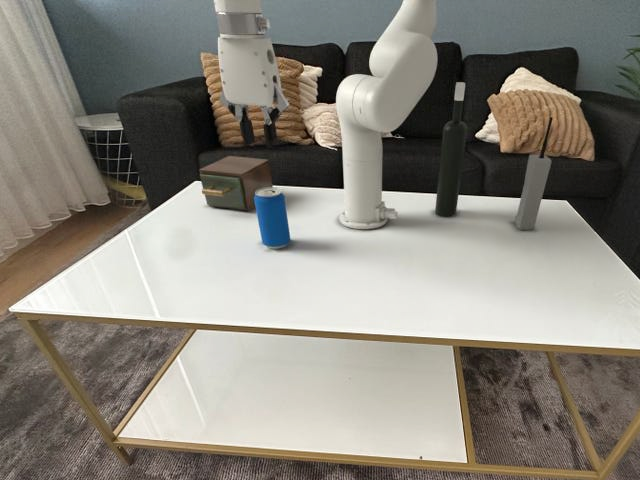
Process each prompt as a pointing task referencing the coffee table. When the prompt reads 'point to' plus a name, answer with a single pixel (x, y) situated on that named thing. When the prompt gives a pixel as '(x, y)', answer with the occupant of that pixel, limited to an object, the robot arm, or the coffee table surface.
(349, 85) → the robot arm
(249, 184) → the cabinet
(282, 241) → the beverage can
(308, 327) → the coffee table surface
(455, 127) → the wine bottle
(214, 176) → the drawer
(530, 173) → the vintage mobile phone
